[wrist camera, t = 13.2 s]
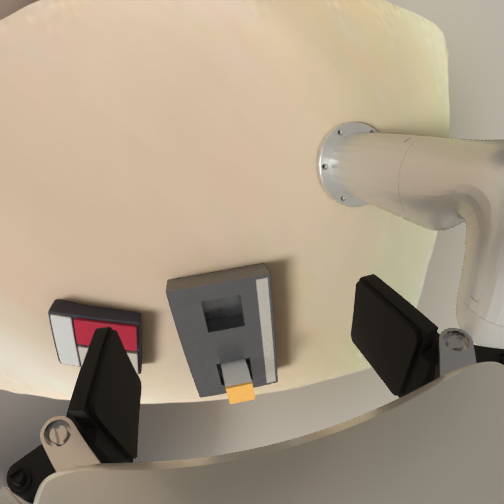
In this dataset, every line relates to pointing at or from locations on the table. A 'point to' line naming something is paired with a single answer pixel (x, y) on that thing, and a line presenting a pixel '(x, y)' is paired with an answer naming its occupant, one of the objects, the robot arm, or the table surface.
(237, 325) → the port panel
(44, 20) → the table surface
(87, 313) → the calculator
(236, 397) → the plug
